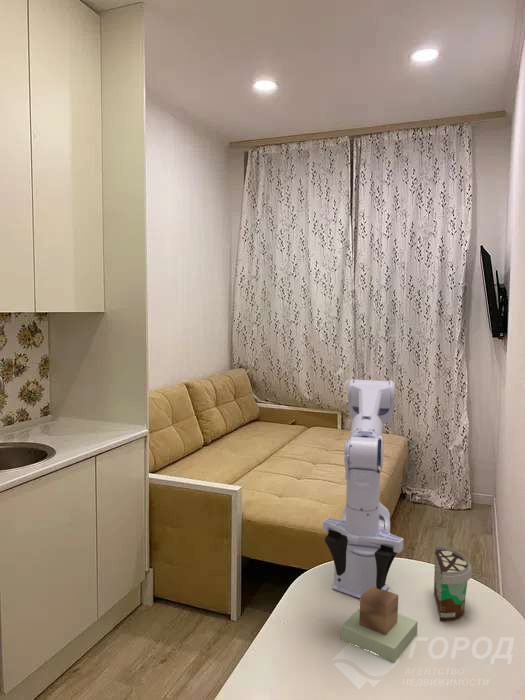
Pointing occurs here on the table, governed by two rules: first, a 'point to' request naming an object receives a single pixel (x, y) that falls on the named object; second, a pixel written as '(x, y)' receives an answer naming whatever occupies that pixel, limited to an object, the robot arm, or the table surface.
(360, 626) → the sage base block
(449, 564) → the food container
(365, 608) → the walnut cube
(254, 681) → the table surface
